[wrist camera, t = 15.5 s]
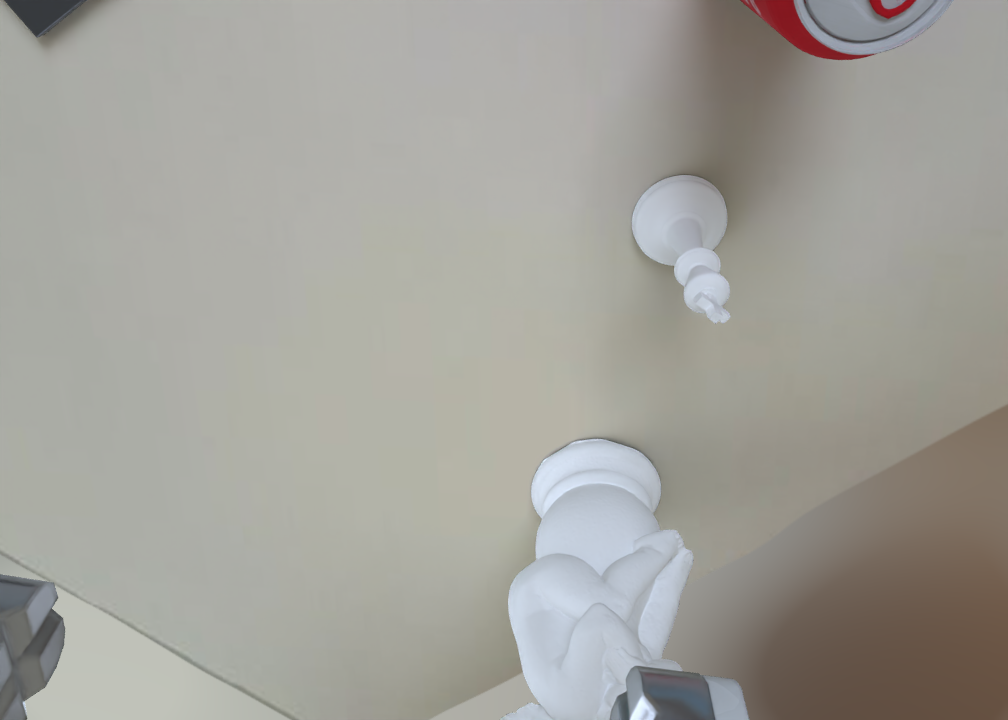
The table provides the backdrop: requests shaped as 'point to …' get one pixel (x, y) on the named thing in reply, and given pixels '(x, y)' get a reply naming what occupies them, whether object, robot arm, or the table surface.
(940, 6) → the beverage can
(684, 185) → the chess piece
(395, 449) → the table surface
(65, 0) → the slate coaster
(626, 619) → the cherub figurine
